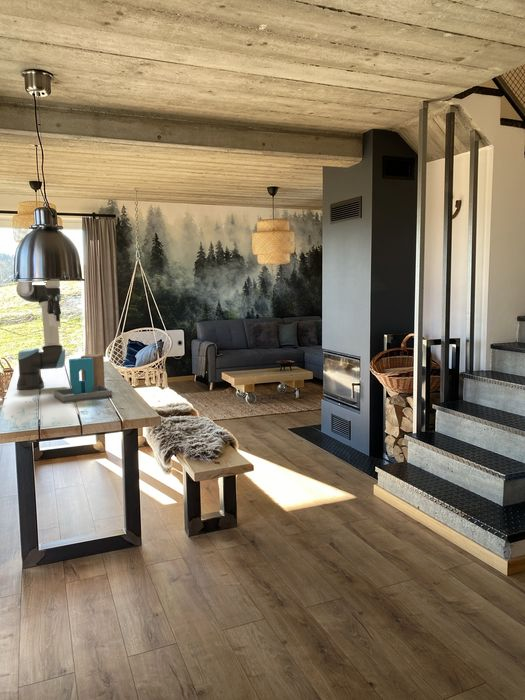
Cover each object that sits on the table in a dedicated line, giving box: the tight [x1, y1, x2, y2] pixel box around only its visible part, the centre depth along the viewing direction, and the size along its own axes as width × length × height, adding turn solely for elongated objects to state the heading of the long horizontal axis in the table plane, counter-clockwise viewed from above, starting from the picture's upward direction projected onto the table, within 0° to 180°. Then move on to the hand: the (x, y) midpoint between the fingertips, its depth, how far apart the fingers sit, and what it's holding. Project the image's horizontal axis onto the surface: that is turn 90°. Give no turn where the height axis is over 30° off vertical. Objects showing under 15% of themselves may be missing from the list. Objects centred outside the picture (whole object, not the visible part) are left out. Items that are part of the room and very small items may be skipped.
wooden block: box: [80, 353, 106, 387], centre depth 330 cm, size 10×10×20 cm
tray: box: [53, 385, 113, 404], centre depth 308 cm, size 20×26×4 cm
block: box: [68, 357, 94, 395], centre depth 307 cm, size 12×5×20 cm, turn 118°
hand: (54, 326), depth 308 cm, fingers open, 13 cm apart
